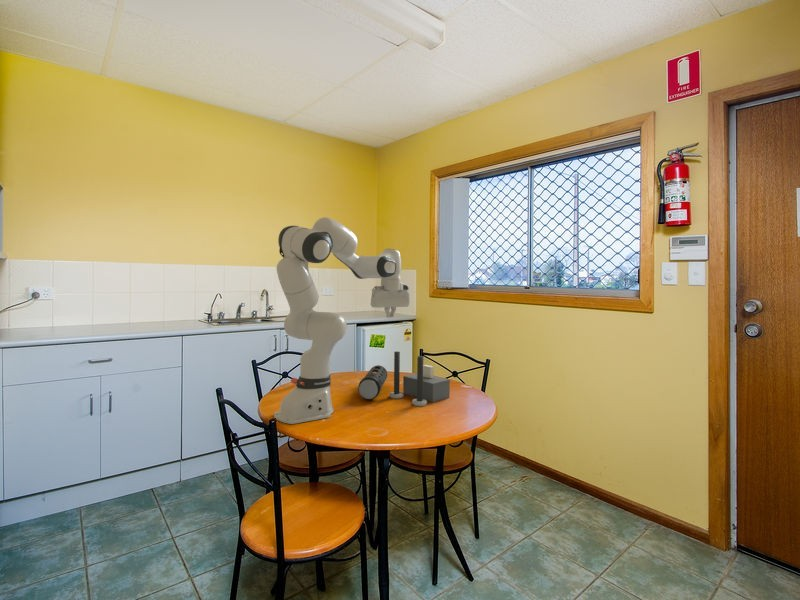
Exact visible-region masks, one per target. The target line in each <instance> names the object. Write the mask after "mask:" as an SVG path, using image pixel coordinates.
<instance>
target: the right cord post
mask: <svg viewBox="0 0 800 600" xmlns="http://www.w3.org/2000/svg"><path fill="white" fill-rule="evenodd" d="M416 359H417V361H416V362H417V364H416V365H417V368H416V369H417V370H416V371H417V372H416V373H417V397H416V398H414V399H412V402H411V403H412V405H413V406H415V407H425V406H427V404H428V401H427V400H425V399H423V365H424V356H422V355H418V356H417V358H416Z"/></svg>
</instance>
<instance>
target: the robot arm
mask: <svg viewBox="0 0 800 600" xmlns="http://www.w3.org/2000/svg"><path fill="white" fill-rule="evenodd" d="M277 239H278V241H277V242H278V243H277V244H278V247H279V251H278V252H279V254H280V256H281V257H282V258H281V259H280V260H279V261H278V262H277V264H276V274H277V278H278V281H279V284H280V286H281V290H282V292H283V293H284V296H285V298H286V300H287V301H286V302H287V303H288V307H289V313H288V314H287V316H286V317H285V319H284V321H283V325H284V326H283V328H284V331H285V333H286V334H287V335H288V336H289V337H292V338H294V339H295V338H296V339H298V340H308V341H311V342H312V343H311V347H310V349H308V350H306V351H305V352H303V353H302V354H301V356H300V361H299V362H300V368H299V370H300V375H299V376H298V378H296V377H291V379H290V382H291V383H292V384H294V385H295V387H294V388H293V389H292V390H291V391H289V393H288V394H286V395H285V396H284V397H283V398H282V400H281V402H280V407H279V410H278V411H275V412H273V418H274V419H275V418H276V419H275V420H277V421H278V422H281V423H284V424H289V425H294V424H299V423H305V422H311V421H317V420H322V419H323V420H324V419H328V418H331V416H332V414H333V413H334V411H335V410H334V408H333V403H332V398H331V397H332V396H331V390H330V389H331V388H330V387H331V382H332V381H331V378H332V377H331V374H330V367H331V366H330V365H331V355H332V352H333V350H334V348H335V346H336V344H338V342H339V341H340V340H342V339H343V338H344V337H345V335H346V333H347V329H348V327H347V326H348V324H347V321H346V319H345V318H344V316H343V315H341V314H338V313H334V312H329V311H328V312H326V311H317V310H314V309H313V308H315V307H316V305H317V304H318V302H319V297H320V296H319V292H318V290H317V288H316V285H315V282H314V280H313V278H312V277H313V276H311V273H310V270H309V263H310V264H321V263H323V262H325V261H326V260H327V259H328V258H329V257H330V255H331V253H332V255H333V256H334V257H335V258H336V259H337V260H339V261H340V263H342V264H344V266H346V267H348V268H349V269H350V271H351V273H352V274H353V275H354V276H355V278H357V279H359V280H360V279H361V280H364V279H365V280H366V279H380V285H375V286H374V287H373V288H371V297H370V307H371V308H376V309H377V308H379V309H381V308H384V311H385V314H386V315H385V316H386V318H387V319H389V318H395V313H396V311H397V308H408V307H409V305H410V292H409V291H410V286H409V285H408V284H405V283H403V282H402V278H401V271H402V258H401V253H400V251H399V250H397V249H394V248H384V249H383V250H382V252H381V253H379V254H377V255H357V254H356V251H357V249H358V237H357V235H356V234H355V233H354V232H353V231H352V230H351V229H349V228H348V227H347V226H345V225H344V224H342V223H340V222H339V221H337V220H335V219H333V218H331V217H325V216H324V217H321V218H319V219H317V220H316V221H315V222H314V223H313V226H312V228H307V227H304V226H303V227H302V226H299V225H289V226H285V227H283V228H282V229H281V230H280V233H279V235H278V238H277ZM390 310H391V311H390Z"/></svg>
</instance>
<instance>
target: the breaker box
mask: <svg viewBox="0 0 800 600" xmlns="http://www.w3.org/2000/svg"><path fill="white" fill-rule="evenodd" d="M402 383H403V385H402V388H403V389H402V393H403V395H404V394H405V395H407V396H410V397H414V398H417V372H416V373H412V374H407V375H406V374H405V375H403V382H402ZM450 383H451V379H448V378H444V377H441V376H436V375H433V378H427V377H423V399H425V400H427V402H431V403H435V402H438V401H439V402H440V401H442V400H445V399H449V398H450V388H451V387H450V385H451V384H450Z"/></svg>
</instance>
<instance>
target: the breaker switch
mask: <svg viewBox="0 0 800 600" xmlns="http://www.w3.org/2000/svg"><path fill="white" fill-rule="evenodd" d="M434 368H435V367H434V366H433V365H428V364H423V377H427V378H433V376H434V371H435V370H434Z"/></svg>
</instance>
